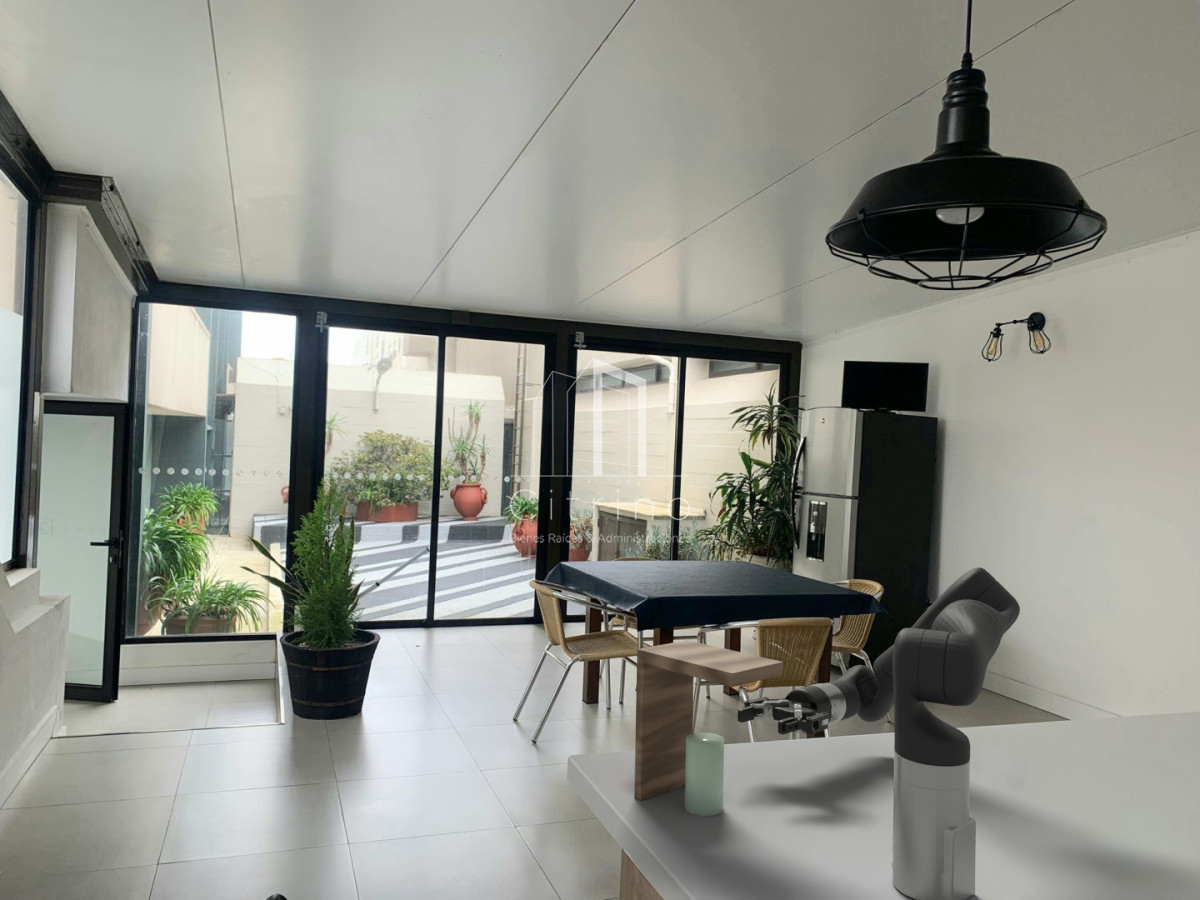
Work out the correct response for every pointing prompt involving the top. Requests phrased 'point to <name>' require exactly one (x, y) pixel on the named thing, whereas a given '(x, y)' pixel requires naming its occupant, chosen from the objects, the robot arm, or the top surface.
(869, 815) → the top surface
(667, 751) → the overhanging shelf
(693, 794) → the pillar candle
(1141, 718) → the top surface
